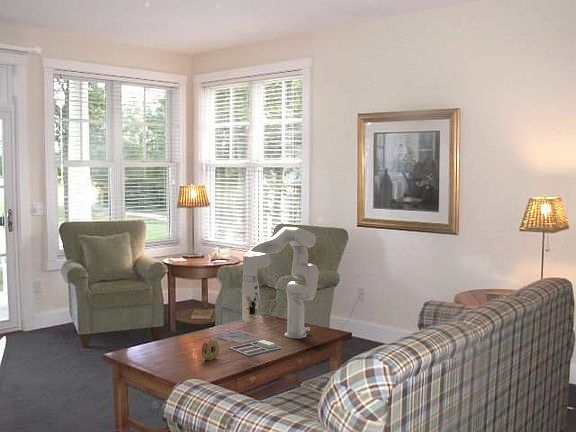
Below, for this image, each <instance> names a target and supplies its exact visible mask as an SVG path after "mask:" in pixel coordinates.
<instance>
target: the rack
mask: <svg viewBox="0 0 576 432" xmlns="http://www.w3.org/2000/svg"><path fill="white" fill-rule="evenodd" d="M261 340H262V339H261ZM261 340H259V341H261ZM257 341H258V340H255V341H252V342H251V341H250V342H246V343H243V344H242V343H241V344H238V345H233V346H230V347H228V349H229V350H231V351H233V352H235V353H238V354H241V355H242V356H246V357H248V358H249V357H253V356H257V355H261V354H262V355H263V354H265V353H271V352H273V351H279V350H283V347H282V346H279V345H277V344H275V347H276V348H273V349H266V348H263V347H260V346H258V345H257ZM244 350H245V351H244ZM258 351H259V352H258Z"/></svg>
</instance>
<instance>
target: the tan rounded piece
mask: <svg viewBox="0 0 576 432" xmlns="http://www.w3.org/2000/svg"><path fill="white" fill-rule="evenodd" d="M219 345H220V344H219V343H218V341H217V340H216V339H213V338H210V339H206V340H205V341H204V342H203V343H202V346H201V356H202V358H203V359H204V360H205V361H211V360H214V359H216V358H217V357H218V355H219V352H220V346H219Z"/></svg>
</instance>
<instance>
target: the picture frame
mask: <svg viewBox="0 0 576 432" xmlns="http://www.w3.org/2000/svg"><path fill="white" fill-rule="evenodd" d="M215 338H217V339H220V340H224V341H227V342H231V341H234V342H236V343H239V344H242V343H243V344H245V343H249V342H251V341H252V342H253V341H257V340H259V339H263V338H264V337H263V336H260V335H257V334H254V333H252V332H247V331H245V330H241V329H235V330H230V331H226V332H220V333H219V332H218V333H216V334H215Z"/></svg>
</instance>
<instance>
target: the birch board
mask: <svg viewBox="0 0 576 432" xmlns="http://www.w3.org/2000/svg"><path fill="white" fill-rule="evenodd" d="M252 304H253V302H252ZM241 309H242V310H241V313H242V314H241V320H242V321H243V322H249V321H253V320H258V319H259V303H258V304H256V306H255V314H252V315H250V301H249V298H248V297H242V296H241Z"/></svg>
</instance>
